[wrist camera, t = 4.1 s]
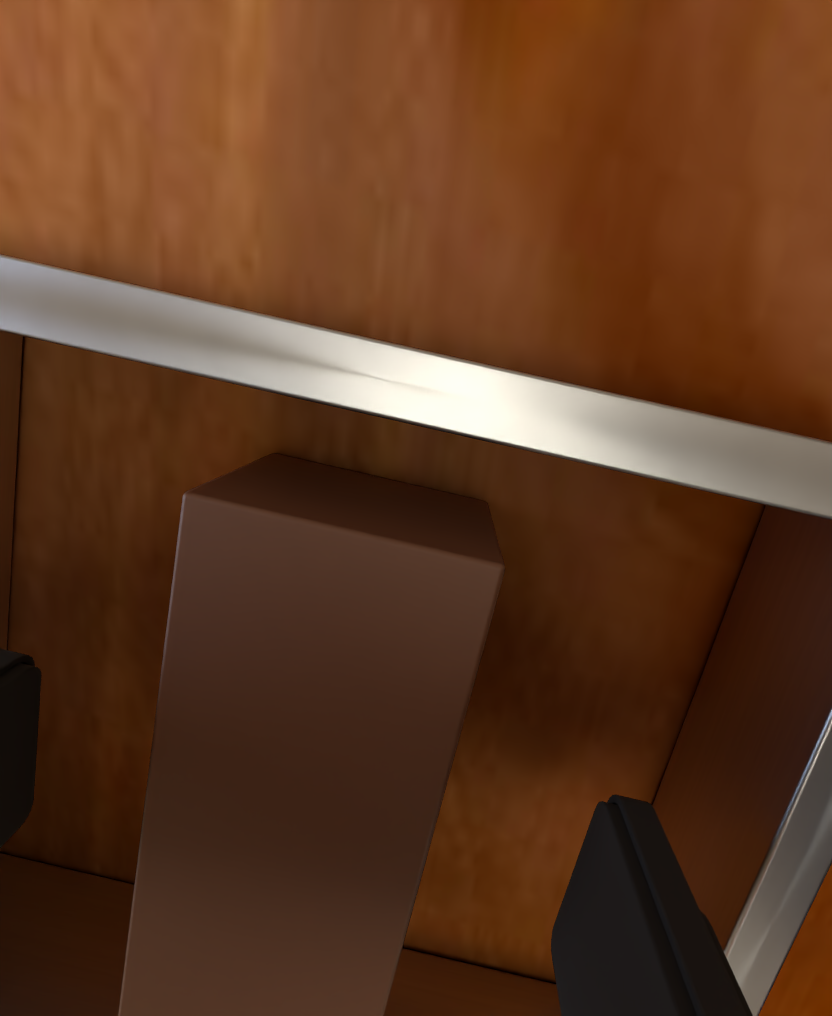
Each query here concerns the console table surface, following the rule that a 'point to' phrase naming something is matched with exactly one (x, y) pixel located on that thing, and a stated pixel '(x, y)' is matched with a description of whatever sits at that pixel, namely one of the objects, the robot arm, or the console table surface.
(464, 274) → the console table surface
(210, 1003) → the brown rectangular block
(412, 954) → the rectangular frame
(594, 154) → the console table surface
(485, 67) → the console table surface
